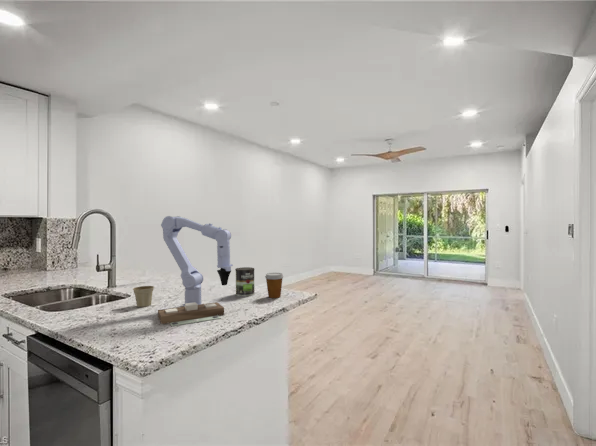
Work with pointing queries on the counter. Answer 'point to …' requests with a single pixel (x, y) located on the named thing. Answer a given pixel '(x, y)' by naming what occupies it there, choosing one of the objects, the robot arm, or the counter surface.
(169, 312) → the cream square block
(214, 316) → the pattern card
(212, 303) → the white square block
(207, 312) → the brown flat rectangular frame
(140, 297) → the flower pot
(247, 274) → the coffee can
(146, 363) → the counter surface
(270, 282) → the disposable coffee cup
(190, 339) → the counter surface
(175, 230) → the robot arm
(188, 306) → the button middle
